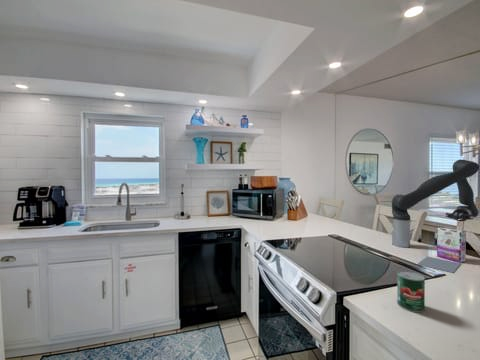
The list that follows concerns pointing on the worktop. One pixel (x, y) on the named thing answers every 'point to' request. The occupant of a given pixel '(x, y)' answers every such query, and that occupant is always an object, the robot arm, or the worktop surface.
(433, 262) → the rubber mat
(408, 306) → the canned tomato
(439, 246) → the candy bar box
